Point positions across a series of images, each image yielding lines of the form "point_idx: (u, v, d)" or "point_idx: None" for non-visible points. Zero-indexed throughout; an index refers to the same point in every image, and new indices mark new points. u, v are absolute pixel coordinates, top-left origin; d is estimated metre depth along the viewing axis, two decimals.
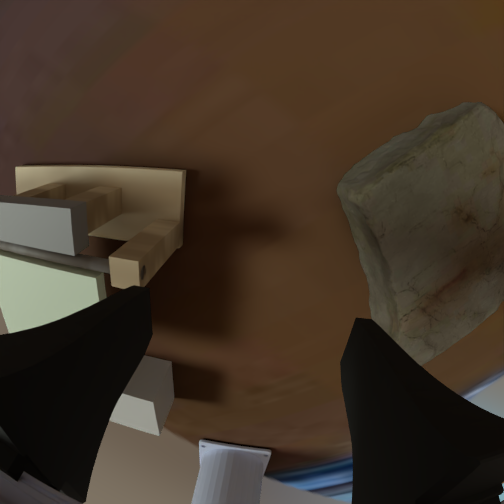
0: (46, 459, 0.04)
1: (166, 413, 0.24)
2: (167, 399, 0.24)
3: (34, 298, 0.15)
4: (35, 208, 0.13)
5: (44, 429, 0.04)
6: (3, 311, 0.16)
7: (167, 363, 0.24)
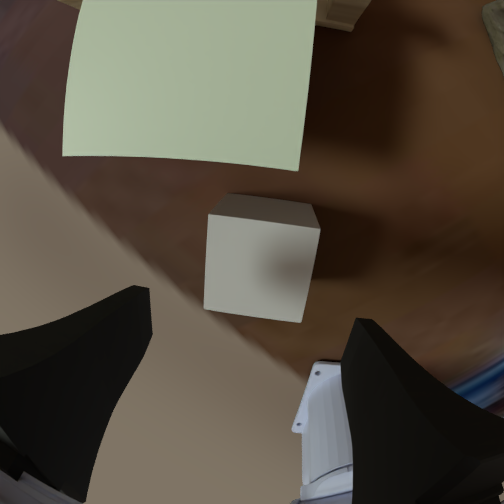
0: (46, 459, 0.04)
1: None
2: None
3: (172, 5, 0.08)
4: None
5: (44, 429, 0.04)
6: (73, 65, 0.09)
7: (307, 204, 0.18)
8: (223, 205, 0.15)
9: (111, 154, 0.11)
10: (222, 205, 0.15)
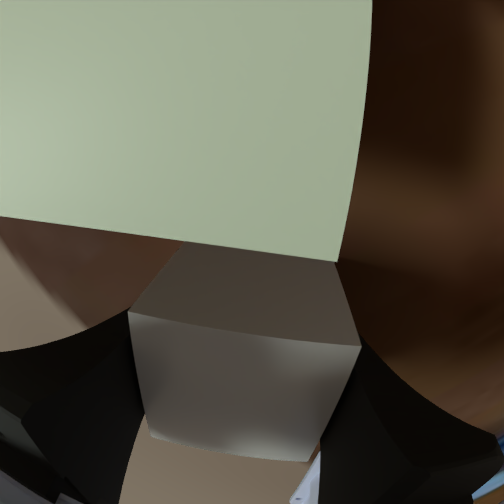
0: (83, 478, 0.04)
1: None
2: None
3: None
4: None
5: (82, 447, 0.04)
6: None
7: None
8: (169, 276, 0.08)
9: None
10: (167, 276, 0.08)
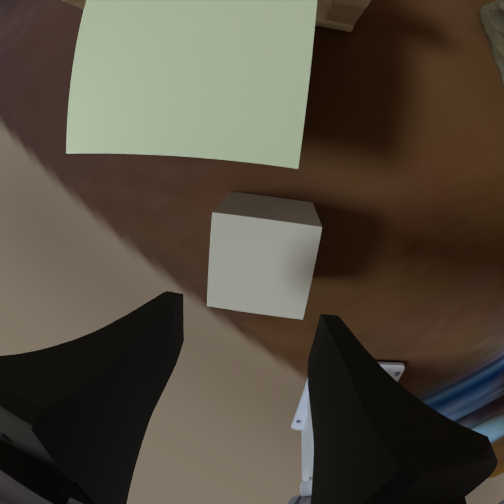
0: (92, 482, 0.04)
1: None
2: None
3: (175, 5, 0.09)
4: None
5: (92, 451, 0.04)
6: (77, 64, 0.10)
7: (308, 203, 0.18)
8: (226, 203, 0.15)
9: (114, 152, 0.11)
10: (225, 203, 0.15)
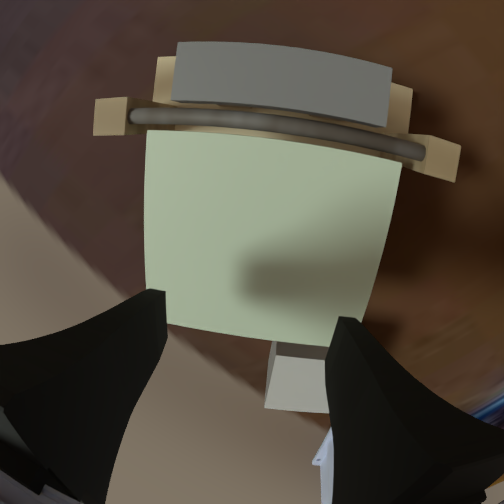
0: (68, 470, 0.04)
1: None
2: None
3: (257, 202, 0.12)
4: (325, 56, 0.09)
5: (66, 440, 0.04)
6: (149, 241, 0.13)
7: None
8: None
9: (201, 328, 0.14)
10: None
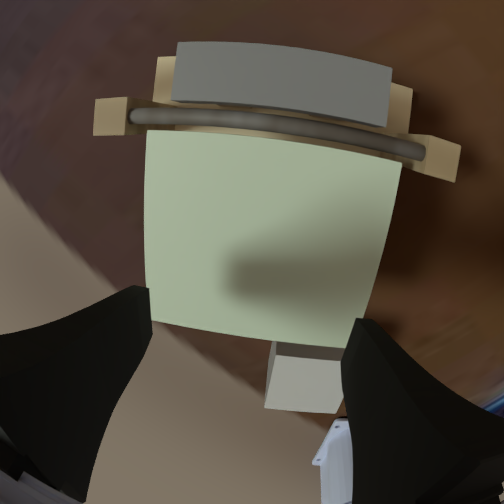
0: (46, 459, 0.04)
1: None
2: None
3: (257, 202, 0.12)
4: (325, 56, 0.09)
5: (44, 429, 0.04)
6: (149, 241, 0.13)
7: None
8: None
9: (201, 328, 0.14)
10: None
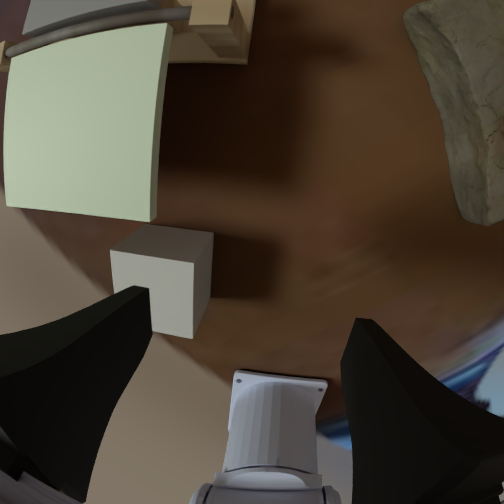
0: (46, 459, 0.04)
1: (201, 310, 0.20)
2: (205, 288, 0.20)
3: (60, 86, 0.11)
4: None
5: (44, 429, 0.04)
6: (6, 136, 0.12)
7: (208, 234, 0.20)
8: (129, 239, 0.18)
9: (34, 207, 0.13)
10: (128, 239, 0.18)
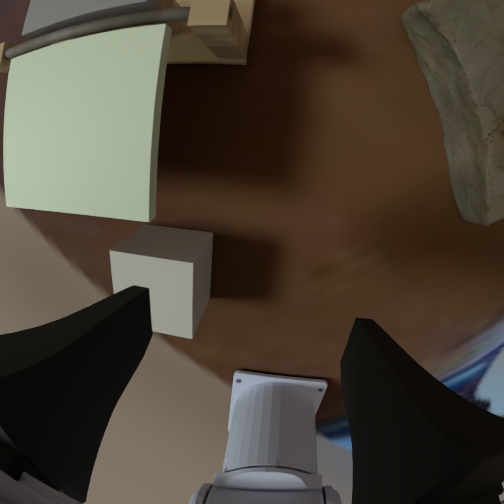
0: (46, 459, 0.04)
1: (201, 310, 0.20)
2: (204, 288, 0.20)
3: (60, 87, 0.11)
4: None
5: (44, 429, 0.04)
6: (6, 137, 0.12)
7: (208, 234, 0.20)
8: (128, 239, 0.18)
9: (34, 208, 0.13)
10: (128, 240, 0.18)
